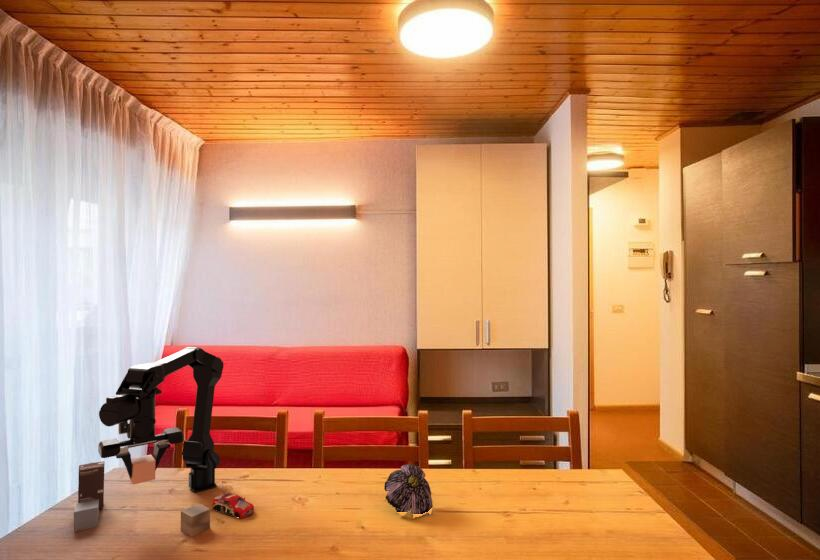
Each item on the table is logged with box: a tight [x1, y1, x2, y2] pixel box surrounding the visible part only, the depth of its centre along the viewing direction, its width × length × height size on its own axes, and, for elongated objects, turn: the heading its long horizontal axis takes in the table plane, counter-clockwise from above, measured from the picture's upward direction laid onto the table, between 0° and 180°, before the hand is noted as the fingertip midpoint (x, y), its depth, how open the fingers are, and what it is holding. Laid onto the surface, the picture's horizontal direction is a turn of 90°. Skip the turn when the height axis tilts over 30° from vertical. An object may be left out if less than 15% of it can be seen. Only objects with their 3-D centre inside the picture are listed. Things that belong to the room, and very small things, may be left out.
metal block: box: [180, 503, 211, 537], centre depth 121 cm, size 5×5×5 cm
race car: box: [211, 492, 255, 519], centre depth 131 cm, size 13×5×4 cm, turn 61°
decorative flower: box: [383, 463, 434, 515], centre depth 134 cm, size 15×12×15 cm
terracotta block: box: [129, 453, 156, 486], centre depth 123 cm, size 5×5×5 cm
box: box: [77, 461, 105, 510], centre depth 131 cm, size 6×4×12 cm
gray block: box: [73, 499, 100, 532], centre depth 123 cm, size 5×5×5 cm
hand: (142, 474), depth 123 cm, fingers closed on terracotta block, 5 cm apart
